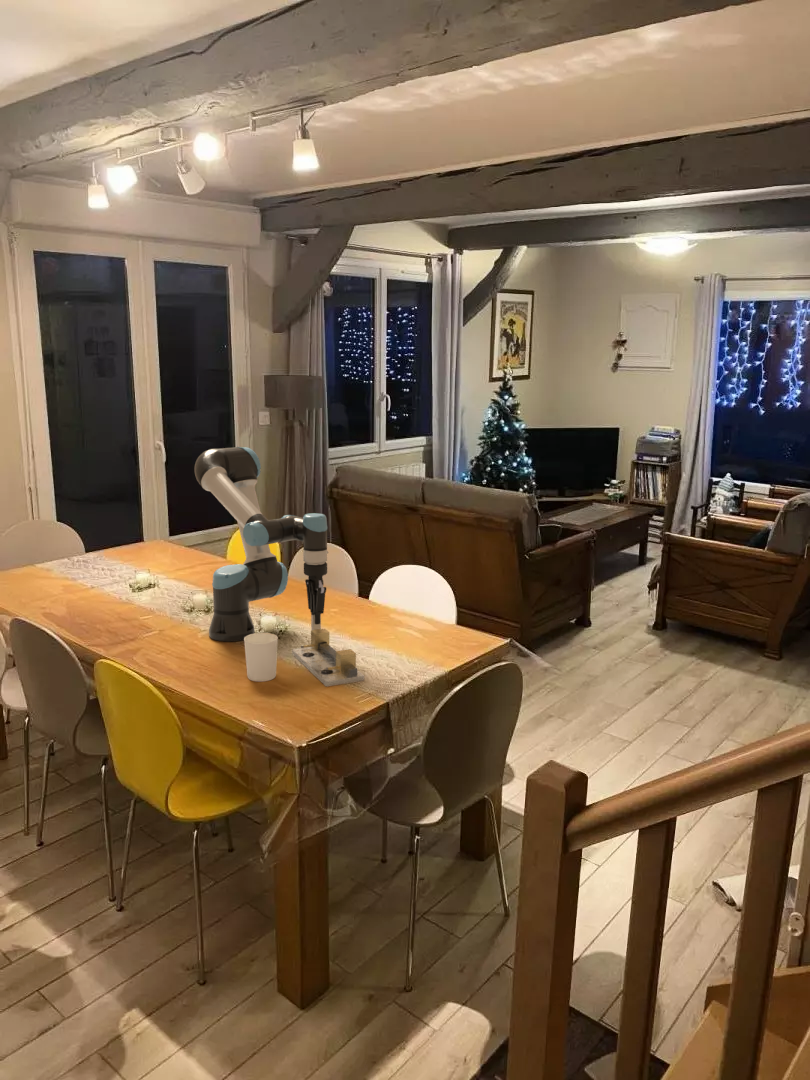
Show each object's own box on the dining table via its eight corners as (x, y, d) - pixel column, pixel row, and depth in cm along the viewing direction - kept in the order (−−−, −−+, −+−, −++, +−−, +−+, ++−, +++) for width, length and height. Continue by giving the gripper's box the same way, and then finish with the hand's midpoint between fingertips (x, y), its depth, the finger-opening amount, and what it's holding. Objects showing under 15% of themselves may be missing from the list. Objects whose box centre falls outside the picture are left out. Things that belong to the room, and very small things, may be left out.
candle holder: (280, 670, 248) (279, 632, 245) (276, 682, 238) (275, 643, 236) (247, 670, 248) (246, 632, 245) (242, 682, 238) (241, 643, 235)
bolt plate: (326, 686, 236) (326, 664, 235) (292, 653, 262) (291, 633, 261) (364, 680, 242) (364, 658, 240) (327, 648, 268) (327, 628, 266)
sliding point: (303, 650, 260) (302, 635, 259) (298, 646, 264) (298, 631, 263) (329, 646, 264) (329, 632, 263) (324, 643, 268) (324, 628, 266)
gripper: (334, 565, 259) (334, 637, 263) (319, 556, 270) (319, 625, 275) (311, 567, 255) (312, 640, 260) (297, 559, 267) (298, 628, 272)
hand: (316, 632), depth 267 cm, fingers closed
